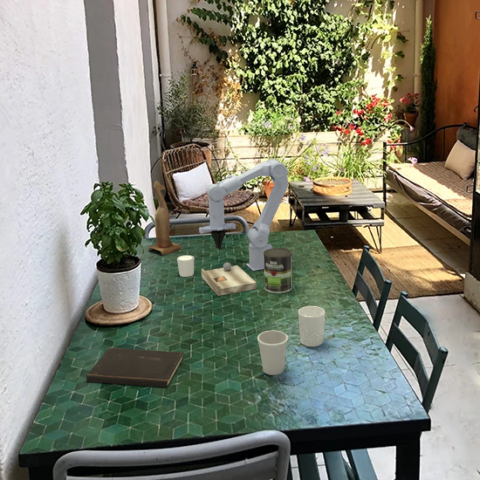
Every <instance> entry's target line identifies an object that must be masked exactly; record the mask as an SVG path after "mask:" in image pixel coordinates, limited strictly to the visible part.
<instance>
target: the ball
mask: <svg viewBox="0 0 480 480" xmlns="http://www.w3.org/2000/svg"><path fill="white" fill-rule="evenodd" d="M220 281H226V280H225V278H223V277H219V278H218V280H217V282H220Z"/></svg>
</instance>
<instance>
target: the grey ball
mask: <svg viewBox="0 0 480 480" xmlns="http://www.w3.org/2000/svg"><path fill="white" fill-rule="evenodd" d="M231 266H232V264H231V263H230V262H224V263H223V265H222V268H224V270H226V271H228V270H230V269H231Z"/></svg>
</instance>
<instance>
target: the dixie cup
mask: <svg viewBox="0 0 480 480" xmlns="http://www.w3.org/2000/svg"><path fill="white" fill-rule="evenodd" d="M256 339H257V342H258V347H259V352H260V358H261V366H262V370H263V373H264V374H267V375H271V376H277V375H281V374H282V373H283V372H285V371H284V369H285V361H286V354H287V352H286V351H287V346H288V340H289V336H288V334H287V333H286V332H285V333H284V331H280V330H265V331H262V332H261V333H259V334H258V336H257V338H256Z"/></svg>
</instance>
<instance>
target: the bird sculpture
mask: <svg viewBox="0 0 480 480" xmlns="http://www.w3.org/2000/svg"><path fill="white" fill-rule="evenodd" d="M159 181H160V180H155V182H154V184H153V189H154V192H155V195H156V198H157V201H158V207H157V209H156V211H155V213H154V232H155V239H156V240H155V241H156V244H155V245H154V244H153V245H152V246H151V245H150V246H148V247H147V251H148V250H149V251H152V250H156V251H159V252H160V254H161V255H162V256H165V255H168V254H171V253H175V252H178V251H181V249H182V247H181V245H180V244H178V243H175V242H172V240H171V237H170V232H171V220H170V213H169V209H168V206H167V202H166V200H165V198H164V197H163V194H162V192H166V191H167V189H166V187H165V185H163V184H162V183H161V182H159ZM151 249H152V250H151Z"/></svg>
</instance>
